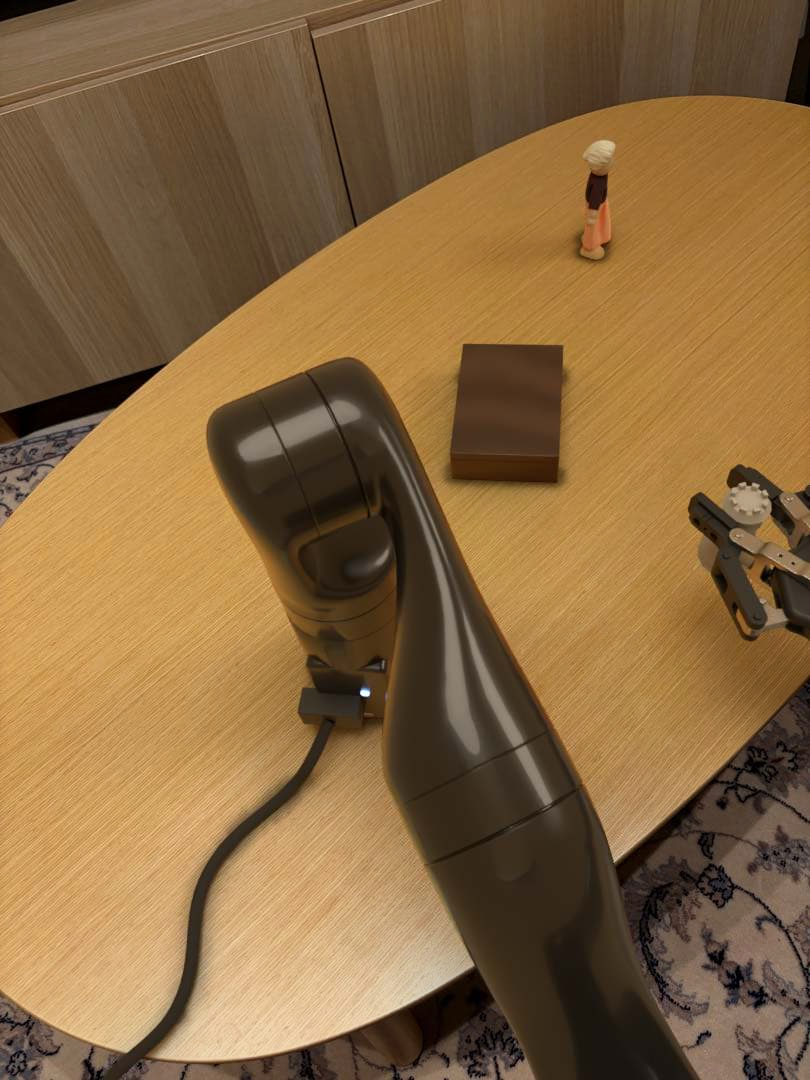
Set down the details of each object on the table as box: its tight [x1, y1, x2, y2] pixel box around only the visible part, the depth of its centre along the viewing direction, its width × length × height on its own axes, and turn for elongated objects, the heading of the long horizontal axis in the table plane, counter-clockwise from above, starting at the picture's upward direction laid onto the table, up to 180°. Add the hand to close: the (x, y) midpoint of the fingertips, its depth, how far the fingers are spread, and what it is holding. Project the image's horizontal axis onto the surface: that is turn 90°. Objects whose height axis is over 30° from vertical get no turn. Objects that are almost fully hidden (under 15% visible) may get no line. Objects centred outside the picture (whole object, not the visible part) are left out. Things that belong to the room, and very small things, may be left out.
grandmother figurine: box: [579, 139, 616, 260], centre depth 94 cm, size 8×4×13 cm, turn 179°
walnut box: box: [449, 343, 564, 483], centre depth 85 cm, size 14×10×4 cm
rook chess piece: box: [696, 482, 771, 576], centre depth 63 cm, size 4×4×8 cm
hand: (713, 487), depth 62 cm, fingers closed on rook chess piece, 3 cm apart
